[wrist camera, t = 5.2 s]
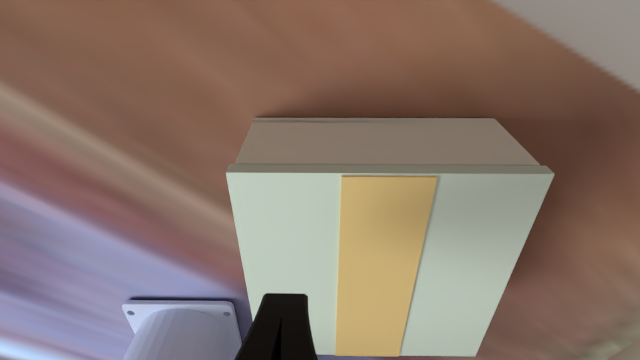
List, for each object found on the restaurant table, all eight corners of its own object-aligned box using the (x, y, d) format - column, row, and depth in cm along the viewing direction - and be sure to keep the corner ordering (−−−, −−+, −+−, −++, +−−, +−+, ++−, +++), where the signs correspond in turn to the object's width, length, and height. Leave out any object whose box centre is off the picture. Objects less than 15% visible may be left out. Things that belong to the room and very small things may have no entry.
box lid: (471, 346, 21) (476, 358, 20) (260, 344, 21) (258, 355, 20) (546, 165, 14) (556, 175, 13) (229, 164, 14) (225, 174, 13)
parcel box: (447, 282, 24) (469, 343, 20) (272, 280, 24) (263, 341, 21) (494, 118, 18) (540, 164, 14) (254, 117, 18) (235, 163, 14)
